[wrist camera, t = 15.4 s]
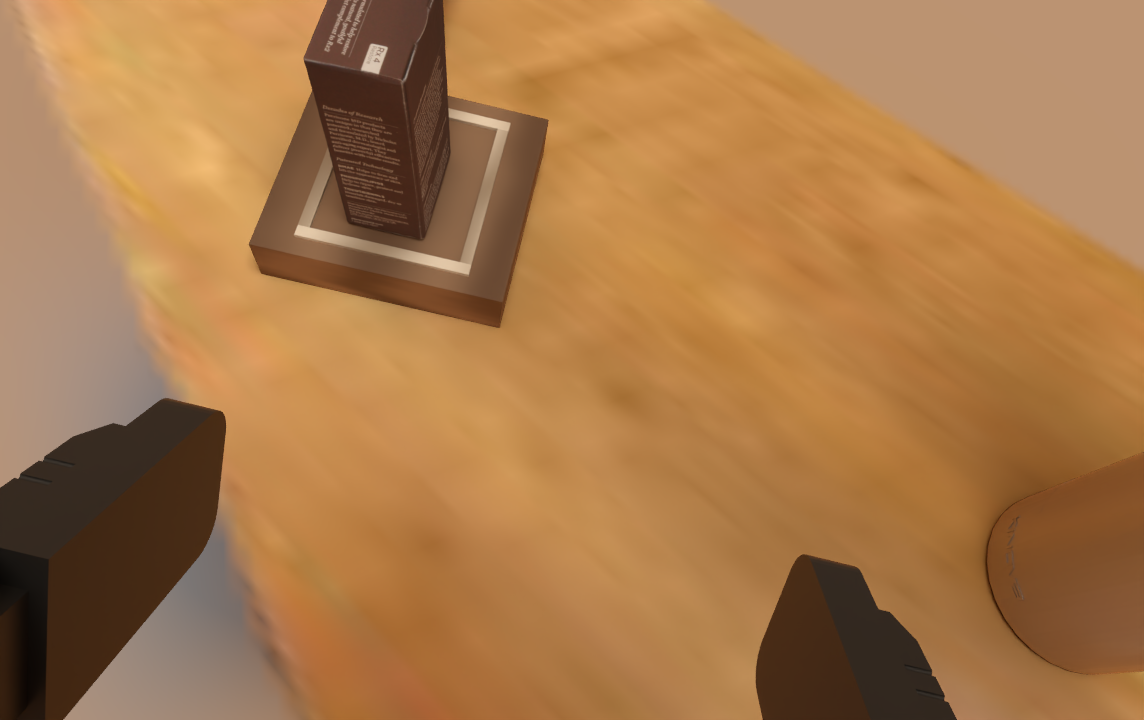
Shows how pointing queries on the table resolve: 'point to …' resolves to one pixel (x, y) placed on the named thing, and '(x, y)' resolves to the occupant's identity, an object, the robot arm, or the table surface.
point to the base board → (400, 263)
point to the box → (383, 108)
